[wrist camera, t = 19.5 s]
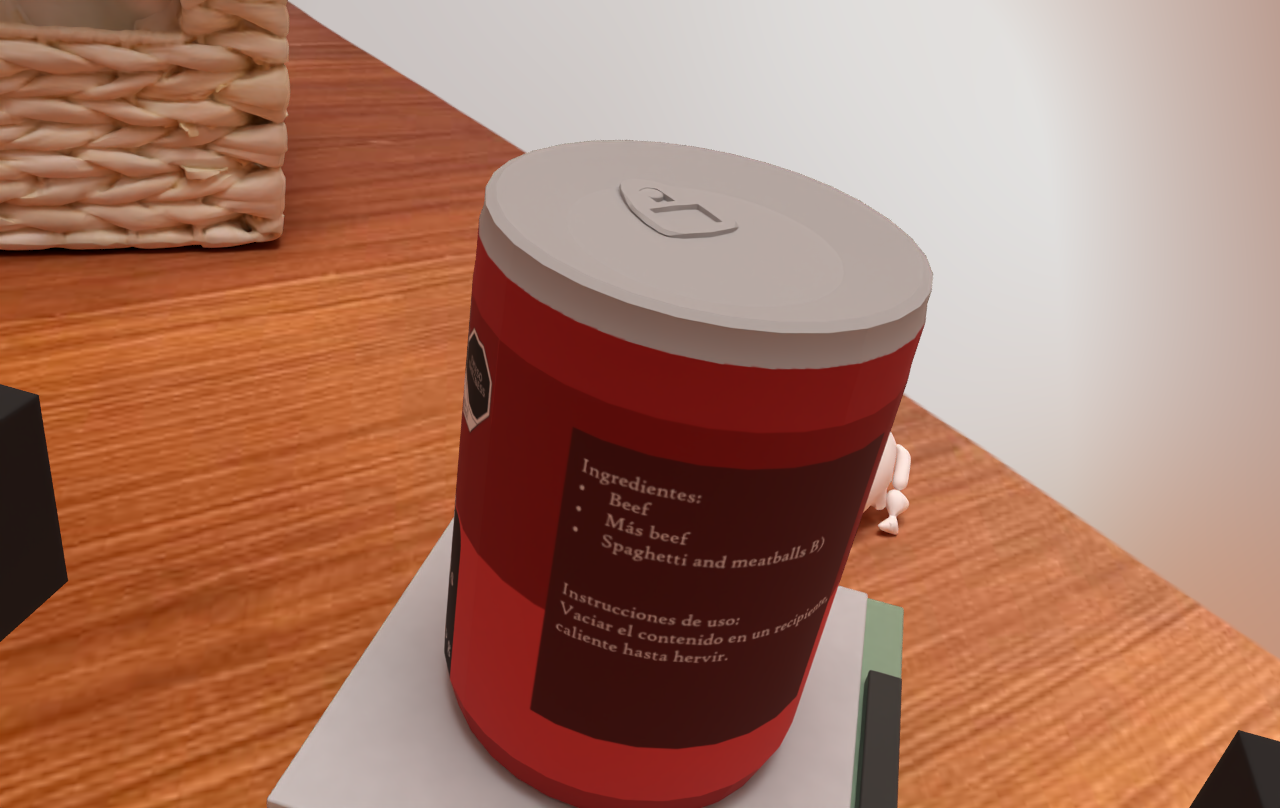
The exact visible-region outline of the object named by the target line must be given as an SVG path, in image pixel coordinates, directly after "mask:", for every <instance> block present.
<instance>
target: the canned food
mask: <svg viewBox="0 0 1280 808" xmlns="http://www.w3.org/2000/svg"><path fill="white" fill-rule="evenodd" d="M932 280H933V272H932V270H931V267H930V265H929V262H928V259H927V257H926V255H925V254H924V253H923V252H922V250H921V249H920V248H919V247H918V245H917V244H916V243H915V242H914V240H913V239H912V238H911V237H910V236H909V235H908V234H906V233H905V232H904V231H903V230H901V229H900V228H899V227H898V226H897V225H896V224H894V223H893V222H892V221H891V220H889V219H888V218H886V217H885V216H883V215H882V214H880V213H879V212H877V211H875V210H874V209H872V208H871V207H869V206H868V205H866V204H864V203H863V202H861V201H860V200H858V199H855V198H854V197H852V196H850V195H848V194H846V193H844V192H842V191H840V190H838V189H836V188H834V187H831V186H829V185H827V184H824V183H822V182H819V181H817V180H814V179H812V178H809V177H807V176H805V175H802V174H800V173H796V172H793V171H790V170H787V169H784V168H781V167H778V166H775V165H772V164H769V163H766V162H762V161H758V160H754V159H750V158H746V157H742V156H738V155H734V154H730V153H725V152H720V151H715V150H709V149H705V148H699V147H694V146H686V145H678V144H670V143H662V142H648V141H633V140H601V141H586V142H576V143H567V144H562V145H556V146H552V147H548V148H543V149H539V150H535V151H531V152H528V153H526V154H524V155H521V156H519V157H516V158H514V159H512V160H510V161H508V162H507V163H506V164H504V165H503V166H502V167H500V168H499V169H498V170H496V171H495V172H494V173H493V175H492V177H491V179H490V180H489V182H488V184H487V186H486V190H485V202H484V206H483V209H482V212H481V214H480V217H479V228H478V240H477V251H476V261H475V267H474V273H473V284H472V297H471V309H470V322H469V334H468V347H467V359H466V372H465V385H464V397H463V410H462V422H461V435H460V447H459V460H458V473H457V485H456V498H455V510H454V523H453V536H452V548H451V561H450V573H449V586H448V598H447V611H446V624H445V643H444V654H445V659H446V663H447V668H448V672H449V677H450V681H451V684H452V687H453V690H454V693H455V696H456V699H457V702H458V705H459V707H460V709H461V711H462V713H463V715H464V717H465V719H466V721H467V723H468V725H469V727H470V729H471V731H472V732H473V734H474V735H475V736H476V738H477V739H478V740H479V741H480V743H481V744H482V745H483V746H484V748H485V749H486V750H487V751H488V753H489V754H490V755H491V756H492V757H493V758H494V759H495V760H497V761H498V762H499V763H500V764H501V765H502V766H504V767H505V768H506V769H507V770H508V771H509V772H510V773H512V774H513V775H514V776H515V777H516V778H518V779H520V780H521V781H523V782H525V783H526V784H528V785H530V786H531V787H533V788H535V789H537V790H538V791H540V792H542V793H543V794H545V795H547V796H549V797H552V798H554V799H557V800H559V801H562V802H565V803H567V804H570V805H572V806H575V807H578V808H703V807H706V806H708V805H711V804H714V803H717V802H719V801H720V800H722V799H724V798H725V797H727V796H728V795H730V794H731V793H733V792H735V791H736V790H738V789H739V788H741V787H742V786H744V784H745V783H746V782H747V781H748V780H749V779H750V778H751V777H752V776H753V775H754V774H755V773H756V772H757V771H758V770H759V769H760V768H761V766H762V765H763V764H764V763H765V762H766V761H767V760H768V759H769V758H770V757H771V756H772V755H773V754H774V752H775V751H776V750H777V749H778V748H779V747H780V745H781V743H782V741H783V740H784V738H785V736H786V734H787V732H788V730H789V728H790V726H791V724H792V722H793V719H794V716H795V713H796V710H797V707H798V704H799V701H800V698H801V695H802V692H803V689H804V686H805V683H806V680H807V678H808V675H809V672H810V669H811V666H812V663H813V660H814V657H815V654H816V651H817V648H818V645H819V642H820V639H821V636H822V633H823V630H824V627H825V624H826V621H827V618H828V615H829V612H830V609H831V606H832V603H833V600H834V597H835V594H836V591H837V588H838V586H839V583H840V580H841V577H842V574H843V571H844V568H845V565H846V562H847V559H848V556H849V553H850V550H851V547H852V544H853V541H854V538H855V535H856V532H857V529H858V526H859V523H860V520H861V517H862V514H863V511H864V508H865V505H866V502H867V499H868V496H869V494H870V491H871V488H872V485H873V482H874V479H875V476H876V473H877V470H878V467H879V464H880V461H881V458H882V455H883V452H884V449H885V446H886V443H887V440H888V437H889V434H890V431H891V428H892V425H893V422H894V419H895V416H896V413H897V410H898V407H899V405H900V402H901V399H902V396H903V393H904V389H905V387H906V384H907V381H908V377H909V373H910V368H911V364H912V361H913V358H914V355H915V352H916V349H917V346H918V343H919V340H920V337H921V334H922V331H923V328H924V325H925V320H926V311H927V303H928V300H929V297H930V293H931V290H932Z"/></svg>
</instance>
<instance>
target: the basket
mask: <svg viewBox="0 0 1280 808" xmlns="http://www.w3.org/2000/svg"><path fill="white" fill-rule="evenodd" d="M287 1H288V0H0V250H41V249H47V248H53V247H60V248H68V249H110V248H128V247H136V248H143V249H153V248H168V247H179V246H186V245H202V247H205V248H219V247H230V246H237V245H243V244H247V243H252V242H265V241H272V240H275V239H277V238H279V237H280V236H281V235H282V233H283V224H284V217H285V216H284V215H283V211H284V209H285V189H286V178H285V176H284V174H283V172H282V169H281V166H282V165H283V163H284V157H285V152H286V151H287V150H288V147H287V128H286V125H285V123H284V122H283V121H284V119H285V118H286V117H287V116H288V113H287V107H288V103H289V98H290V81H289V76H288V70H287V68H286V66H285V65H284V63H286V62H288V59H289V45H288V41H287V39H286V36H287V34H288V31H289V15H288V11H287V8H286V3H287ZM247 231H250V232H247Z"/></svg>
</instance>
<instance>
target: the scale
mask: <svg viewBox="0 0 1280 808" xmlns="http://www.w3.org/2000/svg"><path fill="white" fill-rule="evenodd" d="M453 523H454V518H453V519H452V521H451V522H450V524H449V525H448V527H447V528H446V530H445V531H444V533H443V534H442V536H441V537H440V539H439V540H438V542H437V543H436V545H435V546H434V548H433V549H432V551H431V552H430V554H429V555H428V557H427V558H426V560H425V561H424V563H423V564H422V566H421V567H420V569H419V571H418V572H417V574H416V575H415V577H414V578H413V580H412V581H411V583H410V584H409V586H408V587H407V589H406V590H405V592H404V593H403V595H402V596H401V598H400V599H399V601H398V602H397V604H396V605H395V607H394V608H393V610H392V611H391V613H390V614H389V616H388V617H387V619H386V620H385V622H384V623H383V625H382V626H381V628H380V629H379V631H378V632H377V634H376V635H375V637H374V638H373V640H372V641H371V643H370V644H369V646H368V647H367V649H366V650H365V652H364V653H363V655H362V656H361V658H360V659H359V661H358V662H357V664H356V666H355V667H354V669H353V670H352V672H351V673H350V675H349V676H348V678H347V679H346V681H345V682H344V684H343V685H342V687H341V688H340V690H339V691H338V693H337V694H336V696H335V697H334V699H333V700H332V702H331V703H330V705H329V706H328V708H327V709H326V711H325V712H324V714H323V715H322V717H321V718H320V720H319V721H318V723H317V724H316V726H315V727H314V729H313V730H312V732H311V733H310V735H309V736H308V738H307V739H306V741H305V742H304V744H303V745H302V747H301V748H300V750H299V751H298V753H297V754H296V756H295V757H294V759H293V761H292V762H291V764H290V765H289V767H288V768H287V770H286V771H285V773H284V774H283V776H282V777H281V779H280V780H279V782H278V783H277V785H276V786H275V788H274V789H273V791H272V792H271V794H270V795H269V797H268V798H267V808H578V807H575V806H572V805H570V804H567V803H565V802H562V801H559V800H557V799H554V798H552V797H549V796H547V795H545V794H543V793H542V792H540V791H538V790H537V789H535V788H533V787H531V786H530V785H528V784H526V783H525V782H523V781H521V780H520V779H518V778H516V777H515V776H514V775H513V774H512V773H510V772H509V771H508V770H507V769H506V768H505V767H504V766H502V765H501V764H500V763H499V762H498V761H497V760H495V759H494V758H493V757H492V756H491V755H490V754H489V753H488V751H487V750H486V749H485V748H484V746H483V745H482V744H481V743H480V741H479V740H478V739H477V738H476V736H475V735H474V734H473V732H472V731H471V729H470V727H469V725H468V723H467V721H466V719H465V717H464V715H463V713H462V711H461V709H460V707H459V705H458V702H457V699H456V696H455V693H454V690H453V687H452V684H451V681H450V677H449V672H448V668H447V663H446V659H445V654H444V643H445V624H446V611H447V598H448V586H449V573H450V561H451V548H452V536H453ZM867 597H868V596H867V594H866V593H863V592H859V591H856V590H852V589H848V588H845V587H841V586H838V588H837V591H836V594H835V597H834V600H833V603H832V606H831V609H830V612H829V615H828V618H827V621H826V624H825V627H824V630H823V633H822V636H821V639H820V642H819V645H818V648H817V651H816V654H815V657H814V660H813V663H812V666H811V669H810V672H809V675H808V678H807V680H806V683H805V686H804V689H803V692H802V695H801V698H800V701H799V704H798V707H797V710H796V713H795V716H794V719H793V722H792V724H791V726H790V728H789V730H788V732H787V734H786V736H785V738H784V740H783V741H782V743H781V745H780V747H779V748H778V749H777V750H776V751H775V752H774V754H773V755H772V756H771V757H770V758H769V759H768V760H767V761H766V762H765V763H764V764H763V765H762V766H761V768H760V769H759V770H758V771H757V772H756V773H755V774H754V775H753V776H752V777H751V778H750V779H749V780H748V781H747V782H746V783H745V784H744V786H742V787H741V788H739V789H738V790H736V791H735V792H733V793H731V794H730V795H728V796H727V797H725V798H724V799H722V800H720V801H719V802H717V803H714V804H711V805H708V806H706V807H703V808H897V803H898V775H899V746H900V718H901V690H902V679H901V671H902V644H903V616H904V610H903V608H902V607H898V606H895V605H891V604H887V603H884V602H880V601H876V600H873V599H869V598H867Z"/></svg>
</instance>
